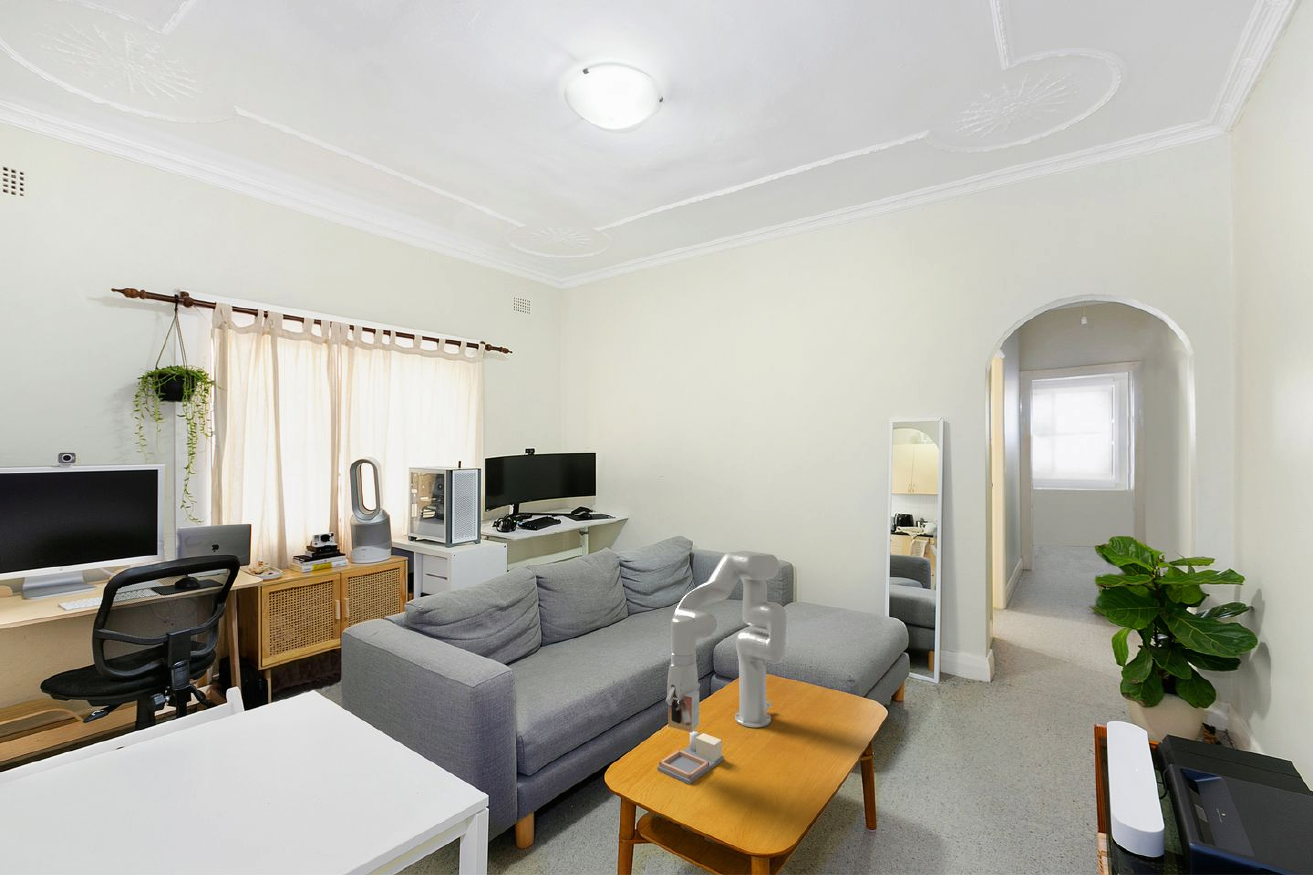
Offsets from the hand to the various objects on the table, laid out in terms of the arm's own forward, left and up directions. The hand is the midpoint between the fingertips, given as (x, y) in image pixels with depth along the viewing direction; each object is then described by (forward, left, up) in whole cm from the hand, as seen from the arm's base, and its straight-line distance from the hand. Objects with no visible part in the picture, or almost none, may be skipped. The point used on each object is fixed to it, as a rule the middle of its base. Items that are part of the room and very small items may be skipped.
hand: (683, 717), depth 179 cm
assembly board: (-4, 0, -16) cm, 16 cm away
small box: (0, 0, -3) cm, 3 cm away
